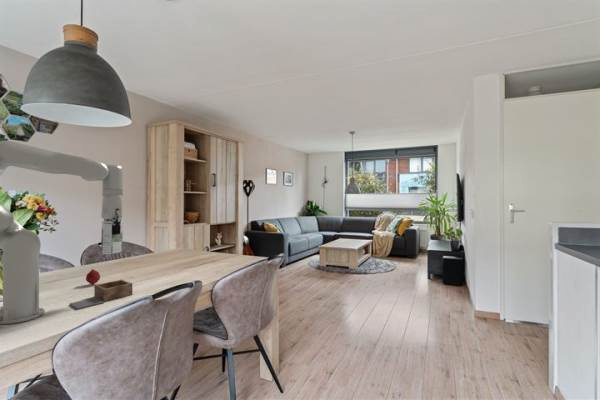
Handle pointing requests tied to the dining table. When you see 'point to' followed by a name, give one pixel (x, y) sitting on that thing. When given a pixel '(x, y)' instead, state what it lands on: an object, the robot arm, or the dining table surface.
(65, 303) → the dining table surface
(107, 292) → the wooden cubby shelf
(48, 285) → the dining table surface
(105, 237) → the syrup box
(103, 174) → the robot arm
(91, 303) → the mat
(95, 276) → the red apple
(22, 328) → the dining table surface
